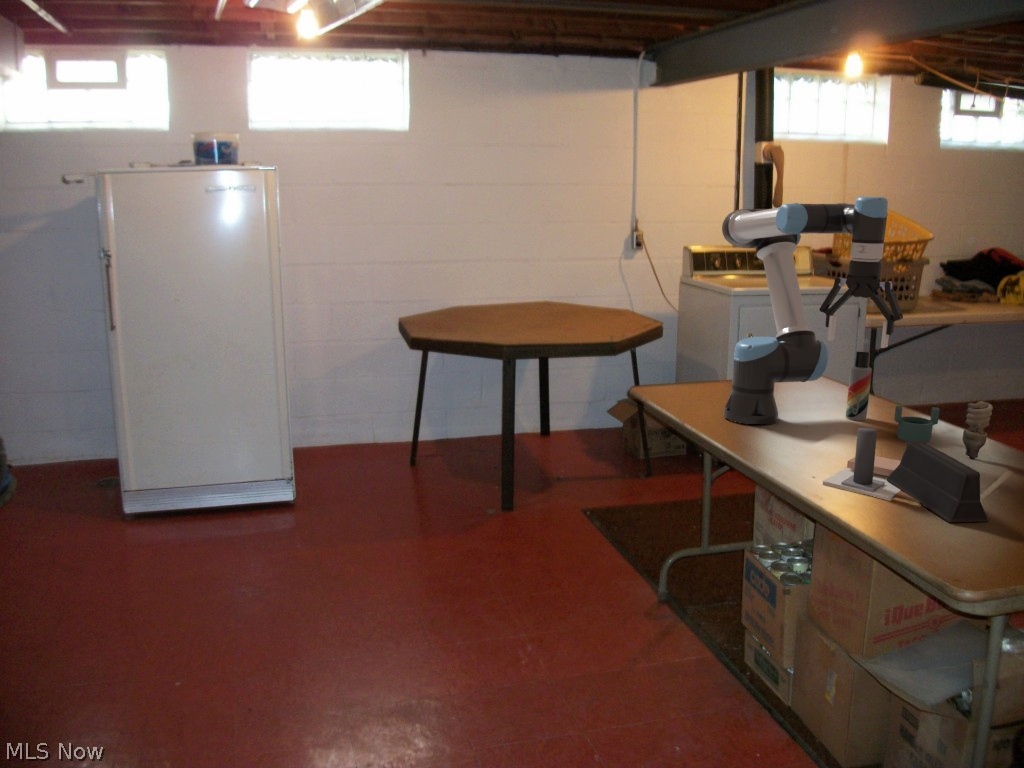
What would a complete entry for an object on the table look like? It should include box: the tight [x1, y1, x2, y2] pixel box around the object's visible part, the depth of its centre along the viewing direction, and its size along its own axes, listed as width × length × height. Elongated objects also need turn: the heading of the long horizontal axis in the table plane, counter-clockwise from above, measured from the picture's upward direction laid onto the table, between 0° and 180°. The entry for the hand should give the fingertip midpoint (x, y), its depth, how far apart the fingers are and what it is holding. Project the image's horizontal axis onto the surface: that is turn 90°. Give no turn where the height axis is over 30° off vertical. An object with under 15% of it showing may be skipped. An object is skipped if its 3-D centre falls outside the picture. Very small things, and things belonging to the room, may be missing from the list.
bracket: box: [893, 405, 940, 444], centre depth 231 cm, size 9×9×9 cm
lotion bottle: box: [845, 350, 872, 422], centre depth 249 cm, size 6×6×20 cm
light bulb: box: [962, 400, 994, 460], centre depth 213 cm, size 6×6×15 cm
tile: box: [846, 455, 901, 476], centre depth 203 cm, size 12×2×10 cm
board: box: [822, 466, 902, 502], centre depth 200 cm, size 15×26×1 cm, turn 138°
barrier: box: [887, 441, 989, 523], centre depth 184 cm, size 24×9×10 cm, turn 8°
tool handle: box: [853, 427, 878, 485], centre depth 192 cm, size 4×4×12 cm
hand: (856, 343), depth 220 cm, fingers open, 13 cm apart
